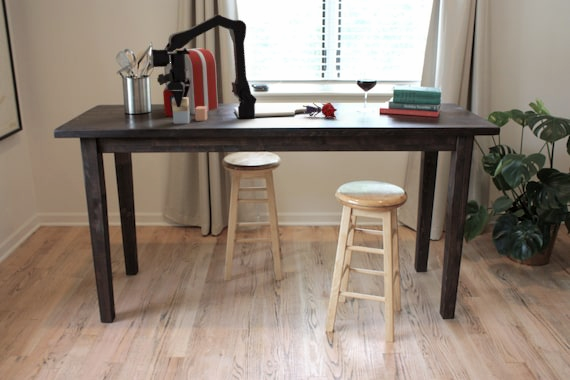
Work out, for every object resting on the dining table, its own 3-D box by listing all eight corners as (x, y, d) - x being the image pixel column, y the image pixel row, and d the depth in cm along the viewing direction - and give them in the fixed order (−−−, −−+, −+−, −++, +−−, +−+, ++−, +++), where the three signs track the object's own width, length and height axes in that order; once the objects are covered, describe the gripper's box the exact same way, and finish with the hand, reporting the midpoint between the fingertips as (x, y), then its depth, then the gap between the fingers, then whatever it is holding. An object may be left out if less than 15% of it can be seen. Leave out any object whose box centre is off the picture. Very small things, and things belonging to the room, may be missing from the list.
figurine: (305, 113, 263) (339, 114, 259) (300, 120, 256) (336, 122, 252) (304, 99, 260) (339, 100, 256) (300, 106, 253) (335, 107, 249)
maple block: (189, 109, 250) (188, 97, 249) (187, 111, 247) (186, 98, 245) (174, 109, 251) (173, 97, 249) (172, 111, 247) (171, 98, 245)
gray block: (190, 121, 252) (189, 109, 250) (188, 123, 248) (187, 111, 247) (175, 121, 252) (174, 109, 251) (173, 123, 248) (172, 111, 247)
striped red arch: (219, 108, 284) (216, 48, 276) (194, 113, 269) (190, 51, 262) (191, 105, 292) (188, 47, 284) (166, 111, 278) (161, 50, 270)
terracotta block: (198, 118, 260) (197, 106, 258) (207, 118, 259) (206, 106, 258) (195, 120, 254) (195, 108, 252) (205, 120, 254) (204, 108, 252)
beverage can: (177, 117, 262) (175, 89, 258) (162, 116, 263) (160, 88, 260) (182, 114, 268) (181, 87, 265) (168, 114, 269) (166, 86, 266)
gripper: (163, 64, 253) (166, 102, 257) (152, 68, 235) (155, 109, 239) (190, 63, 252) (192, 101, 257) (181, 68, 235) (184, 108, 239)
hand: (180, 105), depth 248 cm, fingers open, 9 cm apart
